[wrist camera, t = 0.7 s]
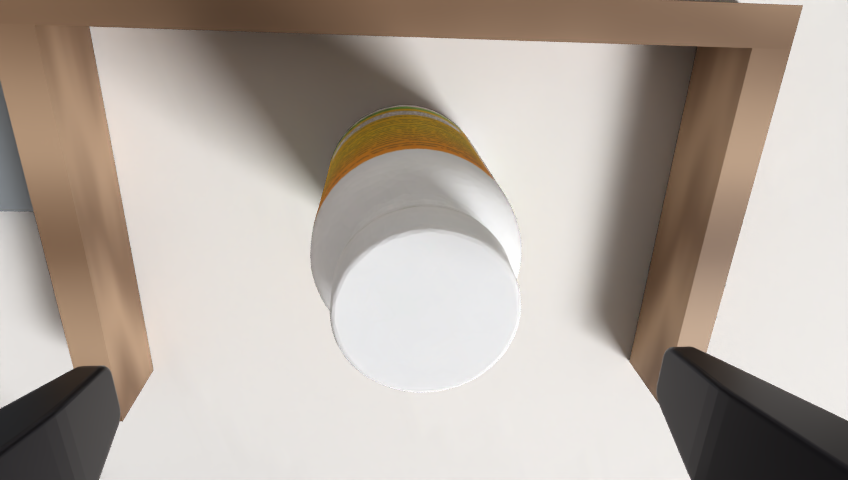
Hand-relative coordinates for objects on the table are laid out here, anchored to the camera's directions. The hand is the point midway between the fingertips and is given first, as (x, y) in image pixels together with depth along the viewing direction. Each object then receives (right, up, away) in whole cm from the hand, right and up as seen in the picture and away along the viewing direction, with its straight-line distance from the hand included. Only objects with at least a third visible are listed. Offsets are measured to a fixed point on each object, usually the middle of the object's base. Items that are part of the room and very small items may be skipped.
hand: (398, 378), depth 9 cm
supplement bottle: (0, +5, +11) cm, 12 cm away
